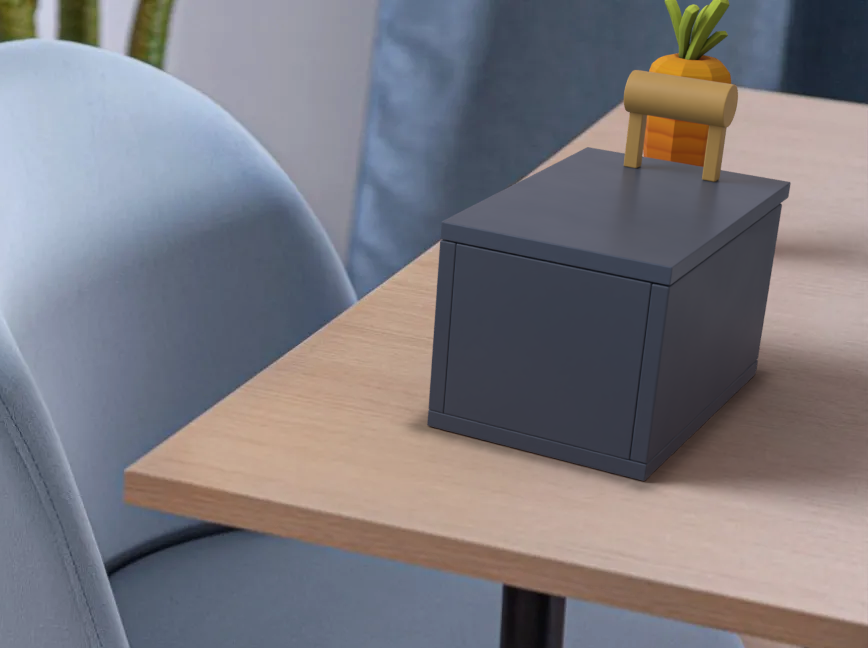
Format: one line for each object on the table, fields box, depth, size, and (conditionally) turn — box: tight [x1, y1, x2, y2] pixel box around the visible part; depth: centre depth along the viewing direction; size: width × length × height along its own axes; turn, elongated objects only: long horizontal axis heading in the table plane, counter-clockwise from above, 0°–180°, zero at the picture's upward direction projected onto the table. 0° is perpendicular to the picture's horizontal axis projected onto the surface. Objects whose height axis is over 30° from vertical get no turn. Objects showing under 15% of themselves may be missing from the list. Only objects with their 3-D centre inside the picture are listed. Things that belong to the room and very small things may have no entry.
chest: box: [426, 203, 783, 482], centre depth 83 cm, size 16×11×9 cm
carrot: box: [642, 0, 732, 167], centre depth 104 cm, size 5×5×15 cm
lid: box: [439, 69, 792, 285], centre depth 80 cm, size 16×11×5 cm, turn 150°
